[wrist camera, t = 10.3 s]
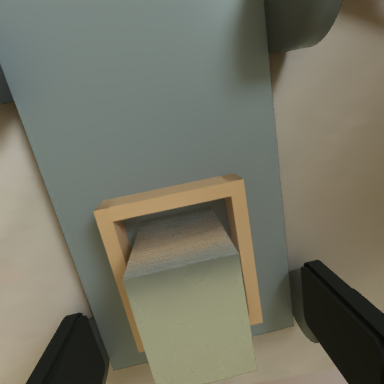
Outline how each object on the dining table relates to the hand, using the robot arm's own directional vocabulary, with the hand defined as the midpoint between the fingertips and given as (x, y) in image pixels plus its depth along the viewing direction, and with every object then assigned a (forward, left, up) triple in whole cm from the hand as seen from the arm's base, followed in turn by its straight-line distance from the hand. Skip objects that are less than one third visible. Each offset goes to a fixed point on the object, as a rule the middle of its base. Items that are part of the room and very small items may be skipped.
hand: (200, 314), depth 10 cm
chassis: (-4, 0, -7) cm, 8 cm away
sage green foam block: (0, 0, -6) cm, 6 cm away
